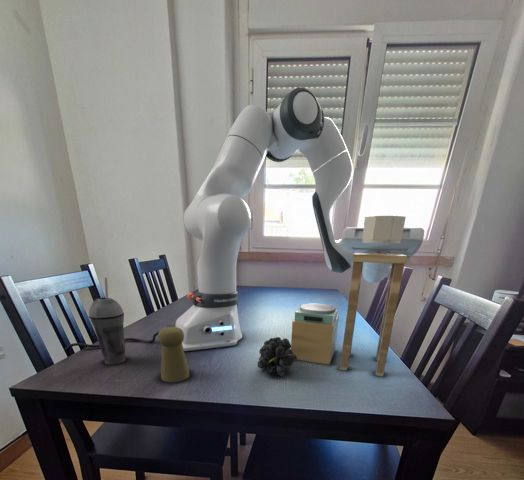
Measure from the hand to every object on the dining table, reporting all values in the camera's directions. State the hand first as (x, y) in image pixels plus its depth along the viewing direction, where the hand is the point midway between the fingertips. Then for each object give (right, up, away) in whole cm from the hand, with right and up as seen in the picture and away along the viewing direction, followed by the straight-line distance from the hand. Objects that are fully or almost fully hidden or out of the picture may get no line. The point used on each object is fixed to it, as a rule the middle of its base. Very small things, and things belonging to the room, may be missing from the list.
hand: (383, 222), depth 69 cm
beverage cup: (-66, -34, 0) cm, 75 cm away
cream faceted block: (-2, -6, -3) cm, 8 cm away
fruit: (-26, -36, -2) cm, 45 cm away
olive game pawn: (-49, -37, -7) cm, 62 cm away
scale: (-16, -33, +6) cm, 37 cm away
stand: (-5, -35, +1) cm, 35 cm away
